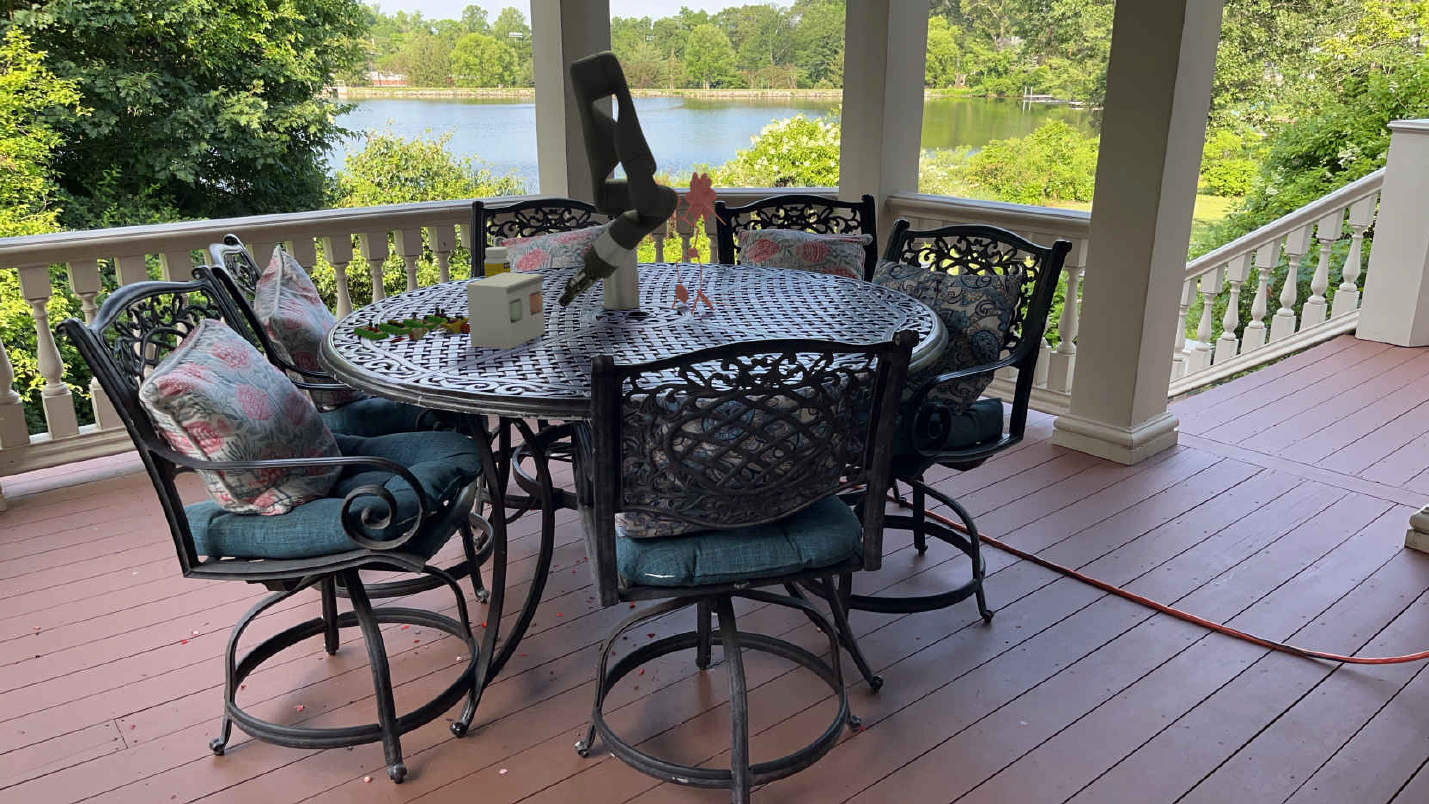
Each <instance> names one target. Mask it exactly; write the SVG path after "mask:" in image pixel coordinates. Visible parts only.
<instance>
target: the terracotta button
mask: <svg viewBox="0 0 1429 804" xmlns="http://www.w3.org/2000/svg"><path fill="white" fill-rule="evenodd" d="M541 307H542V298H541V296H540V295H539V294H530V308H531V311H533V312H539V311H540V310H541Z"/></svg>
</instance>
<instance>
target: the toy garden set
mask: <svg viewBox="0 0 1429 804" xmlns="http://www.w3.org/2000/svg"><path fill="white" fill-rule="evenodd" d="M434 311H435V312H434V314H427V315H423V318H418V317H417V314H418V313H417V312H415V311H412V313H411V315H412V317H411V318H403V320H402V321H398V320H394V319H393V318H389V319H387V320H386V322H380V323H377V322H376V323H373V322H372V321H370V320H369V321H368V325H364V326H360V327H358V326H355V327H354V328H353V334H355V335H357V336H360V335H361V336H360V337H363V338H366V339H369V340H371V341H377V340H383V339H388V338H390V337H391V336H390V334H393V335H396V336H399V335H400V337H396V338H394V339H391V340H389V341H388V343H394V342H395V343H396V342H400V341H405V340H407V339H410V340H411V341H413V340H414V341H420V340H423V339H424V336H426V335H427V334H428V333H429V332H430V331H431V330H434V331H438V332H439V333H440V332H444V331H446V332H449V333H453V334H460V333H461V332H462V333H464V334H468V333H470V325H469V316H464V315H462V314H457V315H455V318H454V317H452V316H449V315H446V313H445V311H446V309H445V308H441V307H438V306H435V308H434ZM438 324H439V325H438ZM380 329H381V330H380ZM383 330H384V331H383ZM461 330H462V331H461ZM386 331H387V332H386ZM405 335H408V337H401V336H405Z"/></svg>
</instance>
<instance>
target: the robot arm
mask: <svg viewBox="0 0 1429 804" xmlns="http://www.w3.org/2000/svg"><path fill="white" fill-rule="evenodd" d="M569 67H570V68H569V76H570V81H571V85H572V90H573V92H574V98H575V101H576V104H577V108H578V112H579V116H580V122H581V123H580V124H581V129H582V135H583V143H584V149H585V152H586V156H587V161H588V167H589V171H590V176H591V177H590V181H591V187H592V189H591V190H592V197H593V206H594V208H595V211H596V213H598V214H599V215H602V216H618V217H617V218H616V219H615V220H614V222H613V223H612V224H611V225H610V226H609V227H608V228H606V229H602V231H601V232H600V235H599V237H598V238H597V239H596V240H595V241H594V242H593V243H592V245H591V246H590V247H589V248H588V249H587V250H586V252H585V253H583V255H582V260H583V263H584V267H580V268H578V270H577V271H576V274H575V275H574V276H571V277H569V278H568V280H567V282H566V284H565V287H564V288H563V290H564V293H563V294H562V295H561V296H560V297H559V299H558V300H557V303H558V304H559V305H560V306H561V307H562V308H566V307H569V306H570V305H571V303H572V302H573V301H574V300H575V299H576V297H579V296H580V295H581V294H584V293H586V291H588V290H589V289H590V288H592V286H594V285H595V284H596V283H598V281H599V280H602V300H603V308H604V309H606V310H613V311H616V310H617V311H622V310H623V311H624V310H625V311H626V310H633V309H640V308H641V307H640V306H641V303H640V276H639V275H640V274H639V271H638V249H637V246H638V245H639V244H640V243H641V242H642V240H644V238H645V237H646V236H647V235H649V234H650V233H652V232H654V231H655V230H657V229H658V228H659V227H660V226H662V225H663V224H664V223H666V222H667V221H668V220H669V219H671V216H672V215H673V216H674V213H675V212H676V210H677V208H678V207H677V204H678V197H677V194H676V192H677V191H676V192H675V191H674V190H675V189H674V188H671V186H668V185H664V184H660V183H656V180H655V178H654V175H655V174H656V173H657V162H656V160H655V157H654V155H653V153H652V150H651V148H650V146H649V143H648V141H647V139H646V137H645V134H644V133H643V129H642V127H641V124H640V121H639V118H638V113H637V111H636V107H635V104H634V100H633V98H632V97H633V96H632V95H631V92H630V88H629V85H628V82H627V79H626V77H625V74H624V71H623V68H622V65H621V63H620V62H619V60H618V57H617V56H616V54H615V53H614V52H612V51H611V50H604V51H601V52H597V53H595V54H591V55H589V56H585V57H582V58H579V59H577V60H575V61H573V62H572V63H571V64H570V66H569ZM613 95H615V97H616V101H617V107H618V108H617V109H618V110H617V119H616V120H615V118H614V117H612V116H611V115H610V114H608V113H607V112H605V111H604V110H602V109H600V108H599V107H598V106H597V105H596V104H595V103H594V102H597V101H599V100H601V99H604V98H607V97H610V96H613ZM619 164H620V165H621V167H622V169H623V172H624V174H625V175H626V178H608V177H609V175H610V174H611V173H613V171H614V170H615V169H616V168H617V167H618V165H619ZM673 189H674V190H673ZM676 207H677V208H676Z"/></svg>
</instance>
